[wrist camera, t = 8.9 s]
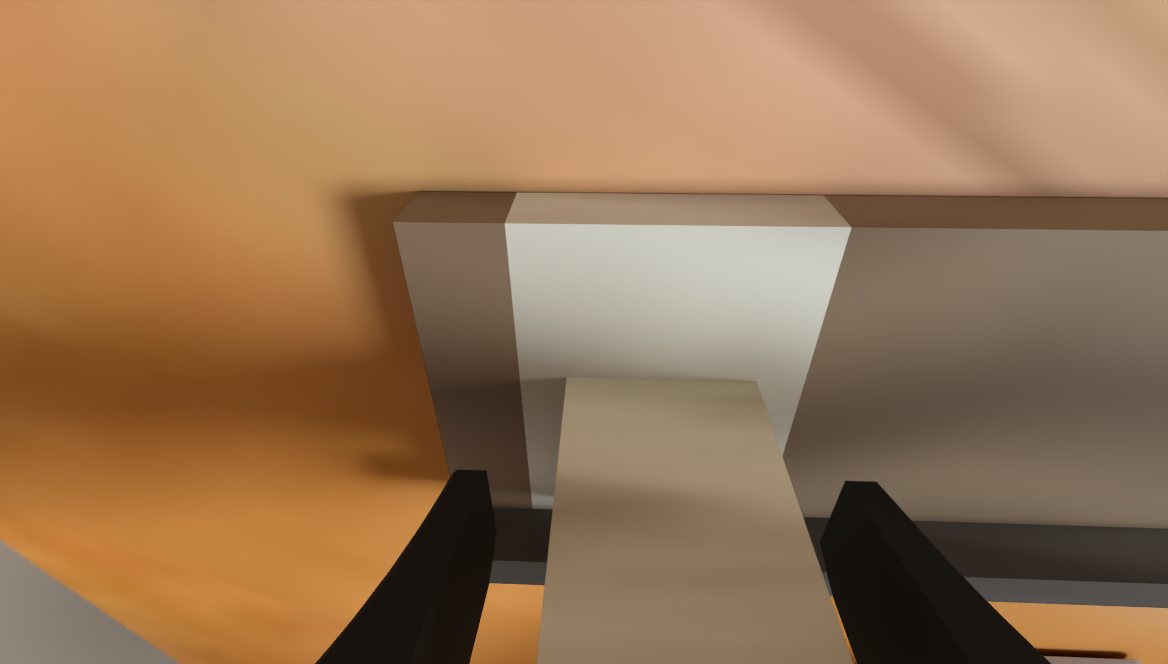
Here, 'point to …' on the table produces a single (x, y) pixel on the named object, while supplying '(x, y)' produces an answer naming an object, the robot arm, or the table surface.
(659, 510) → the block
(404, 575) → the robot arm
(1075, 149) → the table surface
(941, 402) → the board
